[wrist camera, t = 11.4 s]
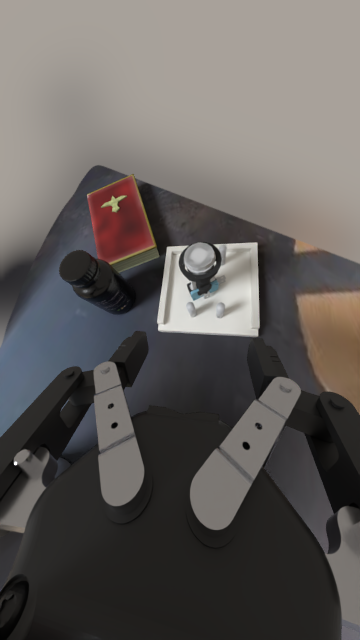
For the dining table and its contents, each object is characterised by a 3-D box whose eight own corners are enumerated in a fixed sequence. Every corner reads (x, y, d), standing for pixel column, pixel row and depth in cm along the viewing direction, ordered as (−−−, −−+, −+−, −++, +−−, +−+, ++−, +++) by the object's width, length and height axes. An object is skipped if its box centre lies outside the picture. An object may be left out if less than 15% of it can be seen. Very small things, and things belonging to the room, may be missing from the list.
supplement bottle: (99, 296, 35) (45, 262, 24) (126, 277, 35) (85, 233, 24) (113, 322, 33) (61, 297, 22) (142, 302, 33) (106, 266, 22)
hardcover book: (109, 279, 37) (97, 268, 33) (96, 210, 43) (84, 193, 39) (162, 258, 36) (156, 244, 32) (140, 191, 42) (132, 172, 38)
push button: (218, 269, 31) (220, 224, 21) (232, 294, 29) (241, 257, 20) (183, 285, 31) (170, 248, 22) (195, 310, 29) (187, 282, 20)
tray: (160, 331, 31) (150, 324, 26) (170, 254, 35) (162, 235, 30) (256, 337, 28) (265, 329, 23) (254, 250, 32) (261, 229, 27)
